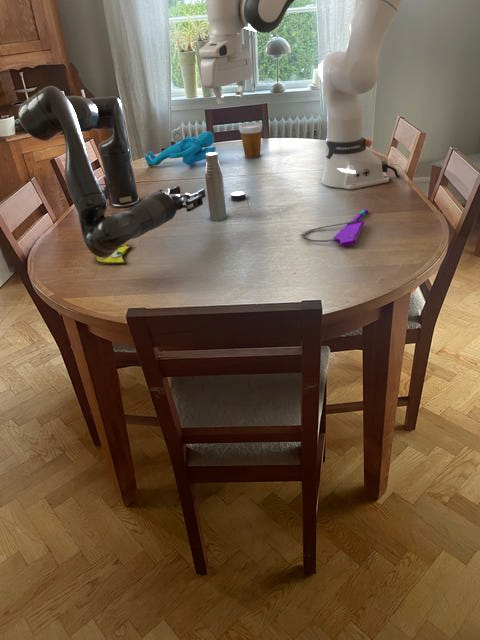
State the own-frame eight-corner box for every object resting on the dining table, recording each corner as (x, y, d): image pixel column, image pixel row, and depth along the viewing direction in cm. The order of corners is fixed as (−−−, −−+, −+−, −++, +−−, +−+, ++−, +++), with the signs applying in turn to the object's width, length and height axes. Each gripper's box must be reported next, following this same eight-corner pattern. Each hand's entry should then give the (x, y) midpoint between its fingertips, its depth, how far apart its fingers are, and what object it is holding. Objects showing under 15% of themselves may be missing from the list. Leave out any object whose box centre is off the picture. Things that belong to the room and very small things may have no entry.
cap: (231, 197, 160) (230, 191, 159) (245, 195, 160) (244, 190, 159) (231, 201, 156) (231, 196, 155) (245, 200, 156) (245, 195, 155)
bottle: (229, 218, 144) (223, 153, 134) (214, 221, 143) (206, 157, 132) (222, 213, 148) (216, 150, 138) (207, 217, 146) (200, 153, 136)
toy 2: (152, 145, 206) (216, 125, 196) (162, 169, 211) (224, 150, 201) (137, 155, 193) (205, 134, 182) (148, 181, 198) (214, 162, 187)
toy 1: (135, 237, 135) (125, 260, 122) (135, 240, 135) (125, 263, 123) (99, 239, 135) (85, 263, 122) (100, 242, 135) (86, 266, 123)
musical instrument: (305, 254, 121) (386, 239, 118) (304, 246, 120) (385, 231, 117) (298, 224, 142) (366, 211, 139) (297, 217, 141) (366, 204, 138)
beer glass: (264, 157, 198) (262, 127, 191) (241, 159, 198) (238, 129, 192) (263, 152, 206) (261, 122, 199) (241, 153, 206) (239, 124, 200)
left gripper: (173, 200, 115) (211, 179, 126) (129, 194, 121) (169, 174, 132) (178, 229, 119) (214, 207, 130) (135, 222, 125) (173, 201, 137)
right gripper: (238, 43, 143) (241, 94, 150) (194, 51, 129) (200, 106, 137) (256, 43, 140) (258, 94, 147) (213, 50, 126) (218, 107, 134)
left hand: (191, 190), depth 131 cm, fingers open, 8 cm apart
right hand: (230, 100), depth 142 cm, fingers open, 8 cm apart
